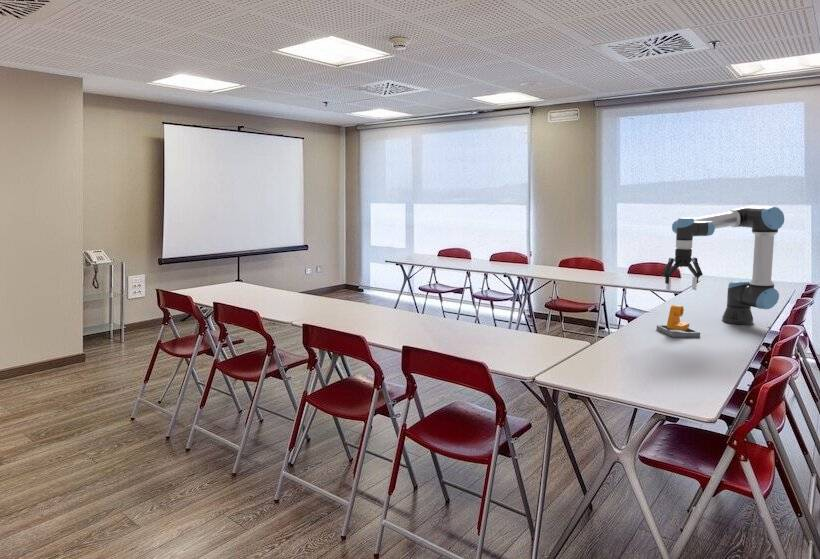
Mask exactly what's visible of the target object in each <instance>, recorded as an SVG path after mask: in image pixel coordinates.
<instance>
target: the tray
mask: <svg viewBox="0 0 820 559" xmlns="http://www.w3.org/2000/svg"><path fill="white" fill-rule="evenodd" d="M656 331H658V332H660V333H662V334H665V335H666V336H668V337H670V338H672V339H678V338H679V339H681V338H683V339H684V338H685V339H688V338H690V339H691V338H700V337H701V332H700V331H697V330H696V329H693V328H691V327H690V326H689V327H688V329H687V330H684V331H681V330H675V329H669V328H667V324H658V325H656Z"/></svg>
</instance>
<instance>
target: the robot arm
mask: <svg viewBox="0 0 820 559" xmlns="http://www.w3.org/2000/svg"><path fill="white" fill-rule="evenodd" d="M784 223H785V214H784V212H783V211H782V210H781V209H780V208H779V207H778V206H771V205H749V206H744V207H740V208H734V209H730V210H728V212H722V213H717V214H711V215H705V216H699V217H679V218H678V219H676V220H675V221H673V222H672V226H671V230H672V232H673V233H674V234H675V236H676V237H675V251H674V254H675V256H674V258H672V257H669V258H668V262H667V264H666V265H665V267H664V269H663V271H662V273H661V276H662V277H664V280H665V281H664V284H665V285H666V288H665V289H666V290H667V291H671V286H672V277H671V276H672V275H673V274H674V273H675V271H676V270H677V269H678V268H683V267H685V268H686V267H687V269H688V270H689V271H690V272H691V273H692V275H693V276H692V284H691V290H694V291H696V290H697V287H698V286H697V285H698V284H699V278H700V277H701V276H703V271H702V269H701V267H700V264H699V263H698V258H697V257H696V256H695V257H694V256H693V257H692V254H693V249H692V248H693V240H694V239H693V237H710V236H712V235H713V234H714V233H715V232H716V229H722V228H727V227H730V228H751V233H752V234H754V244H753V245H754V248H753V261H752V262H753V264H752V278H751V280H744V281H743V280H742V281H741V280H740V281H735V280H734V281H731V282H729V283H728V287H727V299H726V308H725V310H724V312H723V315H722V317H721V318H722V319H721V321H722V322H724V323H728V324H732V325H734V324H735V325H741V326H742V325H744V326H745V325H752V324H754V317H753V314H752V309H751V307H752V308H757V309H760V310H770V309H772V308H774V306H776V305H777V303H778V301H779V298H780V294H779V292H778V290H777V289H776V288H775V283H774V281H772V277H773V276H772V274H773V272H772V271H773V258H774V244H775V243H774V242H775V235H777V234H778V233H779V230H780V229H781V228H782V227H783V225H784ZM691 263H692V264H693V265H692V264H691Z"/></svg>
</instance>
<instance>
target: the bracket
mask: <svg viewBox="0 0 820 559" xmlns="http://www.w3.org/2000/svg"><path fill="white" fill-rule="evenodd" d="M684 309H685V308H684V305H678V304H677V305H676V304H672V305H671V306H670V309H669V314H668V318H667V323H666V325H667V328H669V329H675V330H681V331H684V330H687V329H688V327H689V328H690V322H685V321H681V320H680V317H682V316H683V315H684V311H685V310H684Z"/></svg>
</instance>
